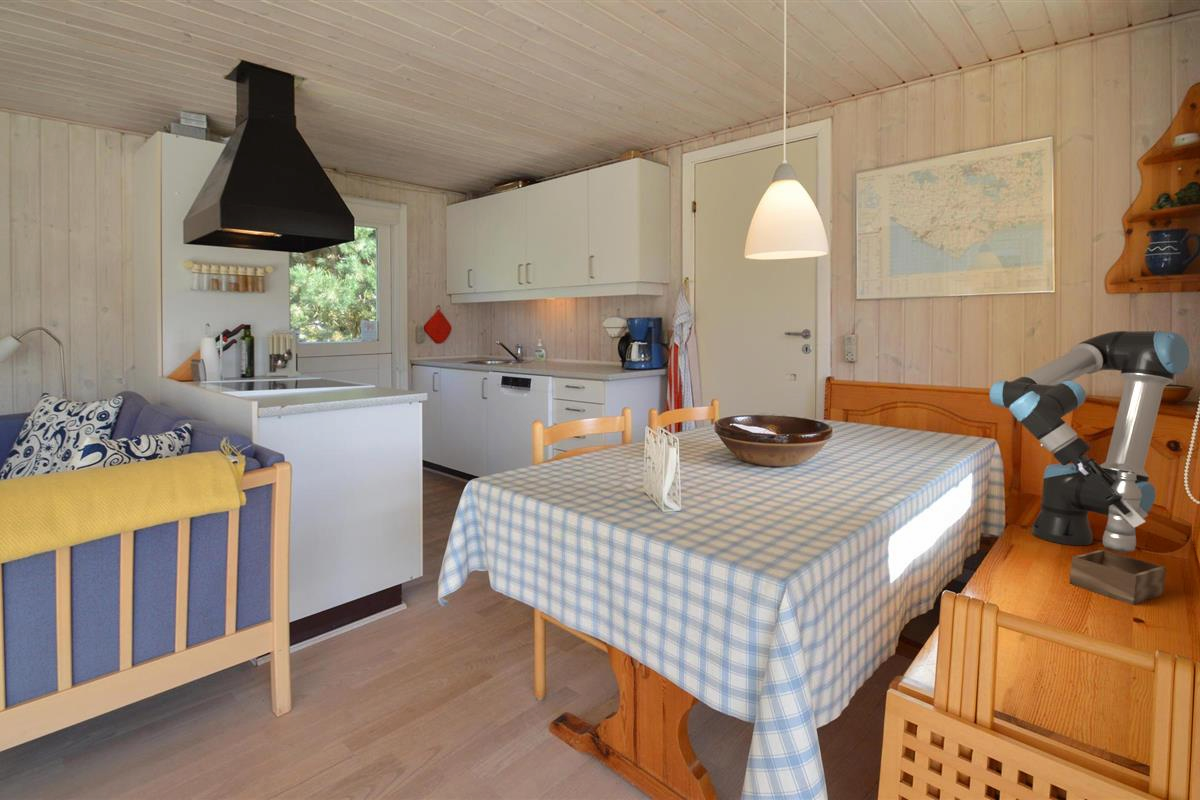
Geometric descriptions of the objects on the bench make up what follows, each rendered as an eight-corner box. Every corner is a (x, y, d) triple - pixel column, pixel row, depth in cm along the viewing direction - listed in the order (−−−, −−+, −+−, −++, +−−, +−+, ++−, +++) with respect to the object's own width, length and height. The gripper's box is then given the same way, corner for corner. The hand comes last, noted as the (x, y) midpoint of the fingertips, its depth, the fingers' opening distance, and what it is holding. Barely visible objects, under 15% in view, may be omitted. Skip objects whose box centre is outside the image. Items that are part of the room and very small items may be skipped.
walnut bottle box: (1099, 575, 167) (1102, 549, 167) (1162, 595, 155) (1166, 567, 155) (1069, 583, 162) (1072, 557, 161) (1133, 605, 149) (1136, 576, 149)
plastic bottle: (1099, 551, 157) (1108, 471, 155) (1102, 544, 162) (1111, 467, 160) (1133, 558, 153) (1143, 476, 150) (1136, 551, 158) (1145, 471, 155)
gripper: (1058, 449, 172) (1129, 521, 163) (1044, 458, 158) (1121, 538, 149) (1084, 432, 168) (1159, 505, 159) (1072, 440, 154) (1154, 521, 145)
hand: (1141, 521), depth 154 cm, fingers closed on plastic bottle, 6 cm apart
